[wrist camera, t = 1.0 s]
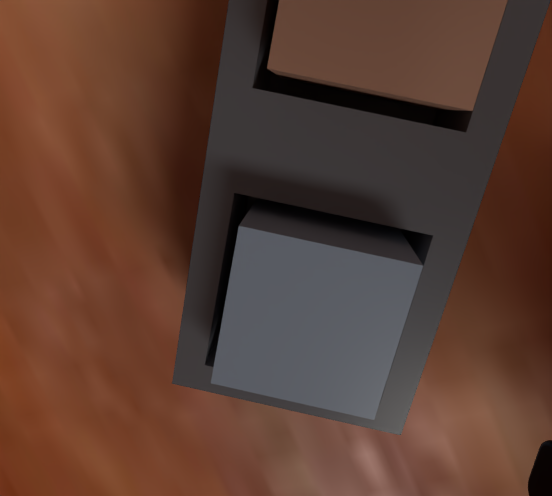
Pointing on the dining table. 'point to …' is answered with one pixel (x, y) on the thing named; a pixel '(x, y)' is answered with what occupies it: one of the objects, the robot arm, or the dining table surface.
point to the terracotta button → (389, 47)
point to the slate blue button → (314, 307)
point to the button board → (344, 183)
